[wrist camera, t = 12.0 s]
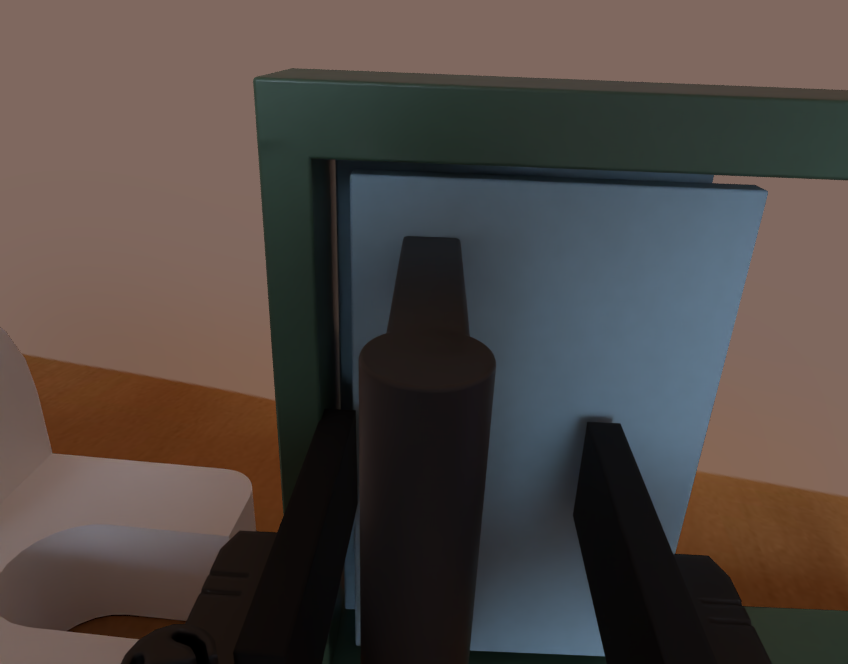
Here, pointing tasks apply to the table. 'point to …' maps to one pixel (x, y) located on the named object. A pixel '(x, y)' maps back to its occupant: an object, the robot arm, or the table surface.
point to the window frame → (498, 155)
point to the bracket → (97, 534)
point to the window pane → (522, 388)
